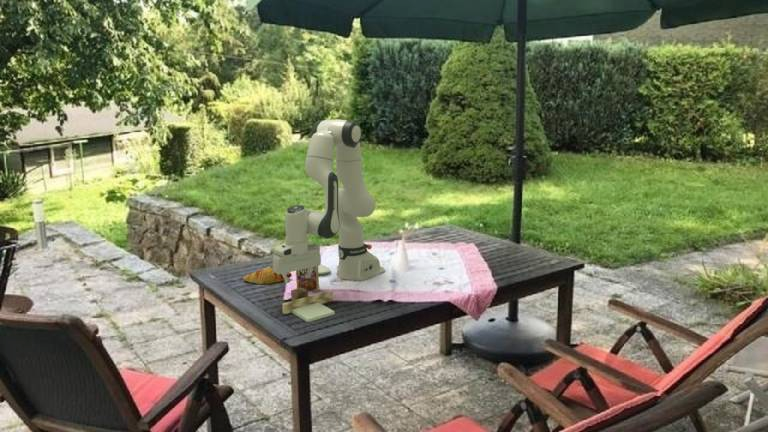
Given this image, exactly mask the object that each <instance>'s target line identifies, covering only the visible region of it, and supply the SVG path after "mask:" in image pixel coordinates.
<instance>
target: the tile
mask: <svg viewBox="0 0 768 432" xmlns="http://www.w3.org/2000/svg"><path fill="white" fill-rule="evenodd" d="M291 313H292V314H293V315H295V316H297V317H298V318H300V319H302V320H303V321H305V322H306V323H311V322H314V321H317V320H320V319H323V318H327V317H331V316H334V315H335V314H336V312H335V310H333V309H331V308H329V307H327V306H326V305H324V304H320V303H319V302H318V303H314V304H310V305H307V306H303V307H300V308H296V309H292V312H291Z"/></svg>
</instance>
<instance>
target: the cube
mask: <svg viewBox="0 0 768 432" xmlns="http://www.w3.org/2000/svg"><path fill="white" fill-rule="evenodd" d="M290 295H291V296H290V297H291V300H290V301H293V300H297V299H301V298H304V297H308V296H309V291H308V290H305V289H303V288H298V289H297V288H295V289H292V290H290Z"/></svg>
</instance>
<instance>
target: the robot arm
mask: <svg viewBox="0 0 768 432" xmlns="http://www.w3.org/2000/svg"><path fill="white" fill-rule="evenodd" d="M361 139H362V128H361V127H360V124H359V123H358V122H357V121H353V120H347V119H337V118H335V119H319V120H316V121H315V122H314V124H313V125H312V127H311V139H310V141H309V143H308V148H307V151H306V157H305V162H304V163H305V165H304V166H305V167H304V169H305V172H306V175H307V176H308V177H309V178H310V179H312V180H313V181H314V182H316V183H318V184H319V185H320V186H321V187H322V188H323V190H324V212H321V211H317V210H316V211H315V210H311V209H307V208H306V207H305V206H304V205H302V204H301V205H300V204H295V205H292V206H290V207H288V208H287V209H286V211H285V215H284V216H285V217H284V230H285V238H284V239H285V240H284V242H283V243H280V244H279V245H277V246H275V247H274V249H273V253H275V254H274V255H273V258H272V267H273V271H274V272H275V273H277V274H282V275H283V277H284V278H285V280H284V283H285V284H288V283H289V284H290V283H291V277H290V278H288V277H287V276H286V275H287V273H291V272H296V271H297V270H301V269H306V268H307V269H308V272H307V273H306V274H305V275H306V276H305V277H306V278H307V279H308V278H311V273H312V271H313V267H316V266H319V265H320V264H322V259H321V258H322V257H321V252H320V250H321V247H320V245H319V244H317V243H311V244H310V243H309V237H308V235H310V236H314V237H315V236H317V237H320V238H324V239H331V238H333V237H335V236H336V235H337V234H338V243H339V244H338V248H337V249H338V251H337V252H338V257H339V258H338V268H337V273H336V277H337V278H340V279H343V280H348V281H350V280H351V281H352V280H353V281H354V280H355V281H356V280H357V281H366V280H369V279H371V278H373V277H376V276H379V275H381V274H384V273H386V269H385V267H383V266H381V263H380V259H379V258H378V257H377V256H376V255H374V254H373V253H371V252H370V251H369V250H371V249H372V247H373V246H372V244H369V243H368V244H366V243H365V230H364V226H363V225H362V223H361V222H360V221H359V219H358V218H367V217H370V216H371V215H373V213H374V211H375V210H376V209H375V208H376V200H375V198H374V197H373V196H372V195H371V193H370V192H369V190H368V188H367V185H366V184H365V180H364V176H363V162H362V161H363V160H362V149H361V144H360V141H361ZM335 147H336V149H335ZM334 158H335V167H336V168H335V169H336V173H335V171H334ZM339 182H340V183H341V184H342V186H343V187H339Z"/></svg>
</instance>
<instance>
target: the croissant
mask: <svg viewBox="0 0 768 432" xmlns="http://www.w3.org/2000/svg"><path fill="white" fill-rule="evenodd" d="M286 276H287V277H288V278H290V279H291V278H292V276H293V275H292V273H291V272H287V275H286ZM242 279H243V280H244V281H245V282H247V283H252V284H258V285H259V284H260V285H266V284H274V283H279V282H283V281H284V282H285V278H284V277H283V275H282V274H277V273H275V272H274V271H273V266H269V265H268V266H267V267H264V268H262V269H258V270H255V271H254V272H252V273H251V272H250V273H249V274H246V275H244V276H243V278H242Z"/></svg>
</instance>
